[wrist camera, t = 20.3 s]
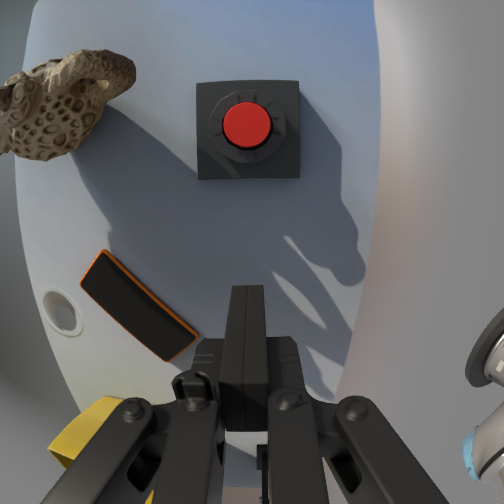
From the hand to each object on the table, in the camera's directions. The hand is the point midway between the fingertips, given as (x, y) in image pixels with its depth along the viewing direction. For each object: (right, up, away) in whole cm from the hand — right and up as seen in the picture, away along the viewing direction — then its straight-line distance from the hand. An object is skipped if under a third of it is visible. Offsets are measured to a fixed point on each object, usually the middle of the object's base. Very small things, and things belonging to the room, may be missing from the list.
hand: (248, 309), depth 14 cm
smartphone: (-15, -4, +21) cm, 26 cm away
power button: (0, +14, +10) cm, 17 cm away
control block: (0, +16, +13) cm, 20 cm away
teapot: (-20, +20, +12) cm, 31 cm away
